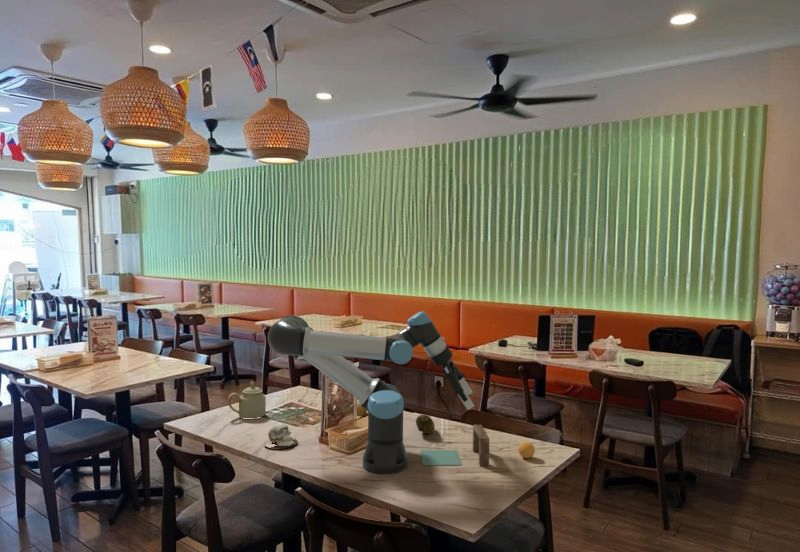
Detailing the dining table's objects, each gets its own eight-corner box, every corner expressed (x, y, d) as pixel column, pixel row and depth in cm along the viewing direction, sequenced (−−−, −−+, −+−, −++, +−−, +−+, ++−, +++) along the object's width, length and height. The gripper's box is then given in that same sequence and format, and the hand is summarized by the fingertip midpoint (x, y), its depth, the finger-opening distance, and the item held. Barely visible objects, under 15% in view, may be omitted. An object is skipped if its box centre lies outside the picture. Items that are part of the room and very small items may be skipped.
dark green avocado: (442, 430, 210) (442, 410, 209) (428, 440, 198) (428, 419, 198) (423, 426, 214) (423, 407, 213) (408, 436, 202) (409, 415, 202)
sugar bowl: (245, 423, 215) (245, 387, 214) (226, 419, 220) (226, 383, 219) (271, 414, 228) (271, 380, 227) (252, 410, 233) (252, 376, 232)
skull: (306, 440, 194) (292, 424, 188) (289, 465, 188) (274, 449, 183) (286, 431, 201) (271, 416, 196) (269, 455, 196) (254, 440, 190)
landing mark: (422, 465, 175) (422, 464, 175) (420, 450, 188) (420, 450, 188) (461, 465, 175) (461, 464, 175) (456, 450, 188) (456, 450, 188)
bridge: (479, 466, 174) (480, 438, 174) (472, 449, 189) (473, 424, 188) (488, 466, 174) (489, 438, 174) (480, 449, 189) (481, 424, 189)
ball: (520, 460, 179) (520, 445, 179) (516, 454, 185) (516, 439, 185) (536, 460, 179) (536, 445, 179) (531, 454, 185) (532, 439, 185)
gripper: (446, 355, 174) (481, 408, 175) (447, 337, 199) (477, 384, 200) (427, 366, 175) (461, 419, 176) (431, 347, 200) (460, 394, 201)
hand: (470, 400), depth 188 cm, fingers open, 13 cm apart
